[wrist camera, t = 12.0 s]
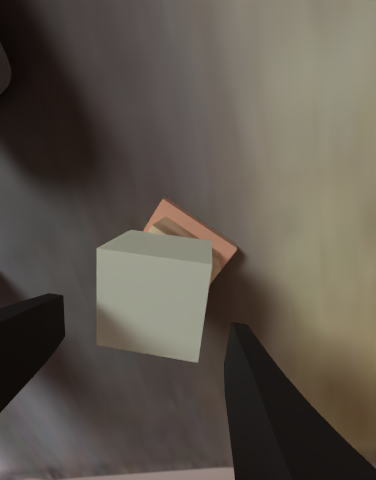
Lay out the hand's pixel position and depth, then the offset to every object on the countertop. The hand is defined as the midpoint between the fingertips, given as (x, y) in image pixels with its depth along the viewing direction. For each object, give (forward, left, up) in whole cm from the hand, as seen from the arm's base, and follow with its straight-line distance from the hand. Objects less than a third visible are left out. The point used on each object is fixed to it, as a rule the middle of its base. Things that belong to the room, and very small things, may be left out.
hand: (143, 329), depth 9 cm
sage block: (0, 0, -5) cm, 5 cm away
